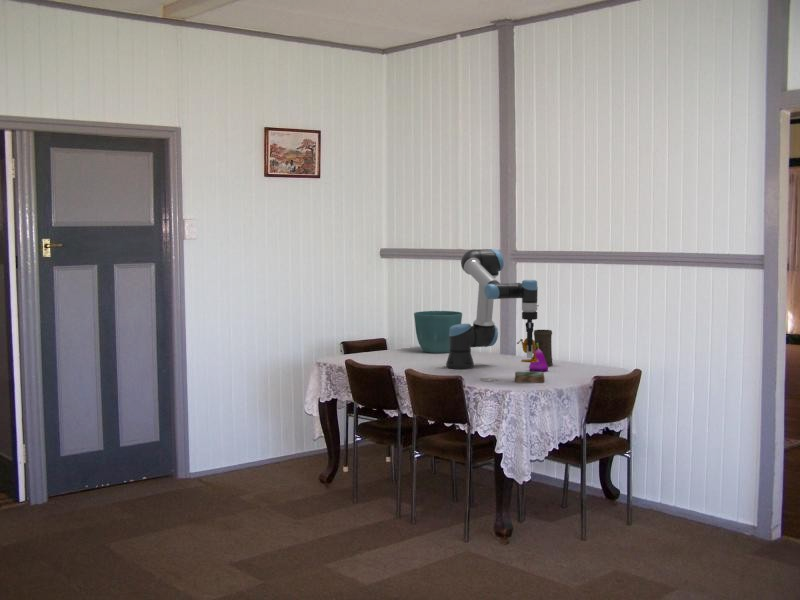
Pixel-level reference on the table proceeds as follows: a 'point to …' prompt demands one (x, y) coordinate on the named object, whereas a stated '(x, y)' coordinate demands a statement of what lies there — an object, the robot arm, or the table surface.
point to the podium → (529, 377)
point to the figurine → (526, 351)
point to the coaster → (488, 379)
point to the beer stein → (544, 344)
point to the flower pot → (435, 329)
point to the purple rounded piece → (539, 362)
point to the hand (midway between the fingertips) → (529, 356)
